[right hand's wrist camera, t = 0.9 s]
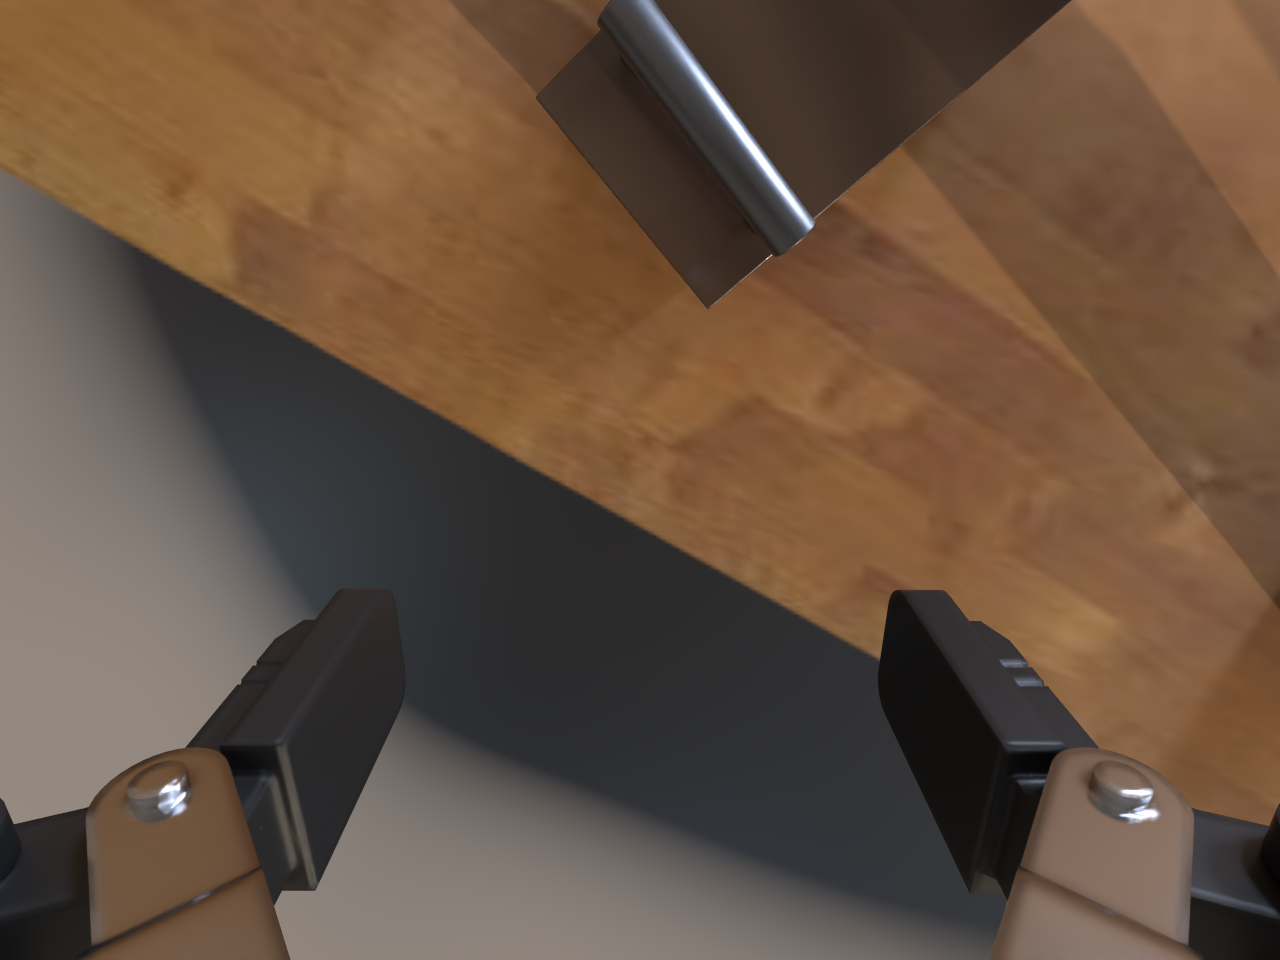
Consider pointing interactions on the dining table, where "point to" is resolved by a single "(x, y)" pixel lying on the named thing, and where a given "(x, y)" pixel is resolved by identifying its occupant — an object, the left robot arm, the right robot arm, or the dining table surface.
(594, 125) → the lid
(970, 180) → the dining table surface
